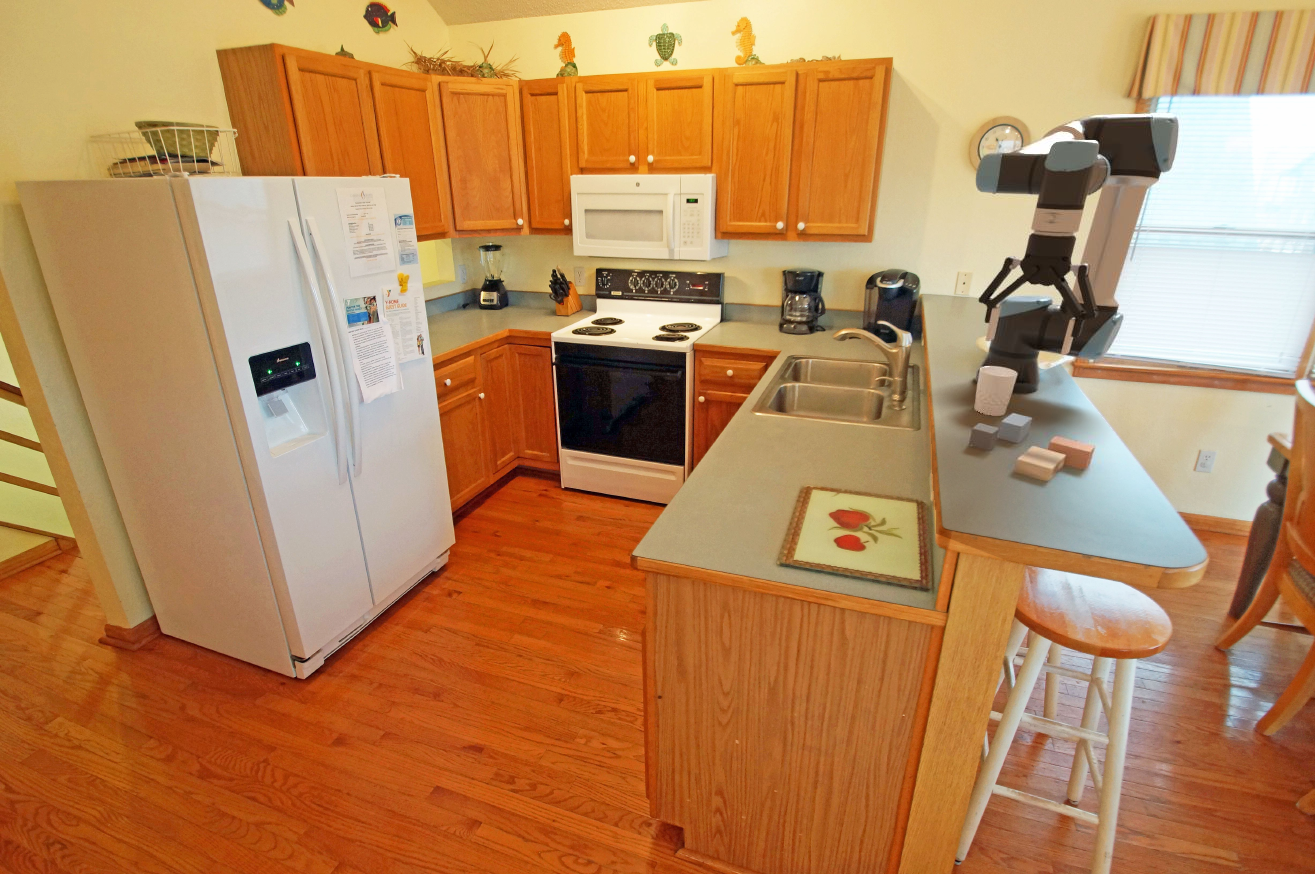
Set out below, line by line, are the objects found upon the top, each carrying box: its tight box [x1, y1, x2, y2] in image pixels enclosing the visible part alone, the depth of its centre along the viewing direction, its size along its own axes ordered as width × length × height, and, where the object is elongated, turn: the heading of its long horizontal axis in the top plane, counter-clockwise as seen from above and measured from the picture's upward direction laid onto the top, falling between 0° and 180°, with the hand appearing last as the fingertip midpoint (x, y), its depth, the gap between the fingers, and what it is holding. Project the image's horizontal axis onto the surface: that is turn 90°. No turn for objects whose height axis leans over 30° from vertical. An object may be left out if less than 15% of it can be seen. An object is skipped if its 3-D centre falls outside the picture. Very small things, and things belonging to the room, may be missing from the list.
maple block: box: [1013, 445, 1066, 483], centre depth 124 cm, size 9×6×3 cm, turn 135°
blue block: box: [997, 412, 1033, 444], centre depth 139 cm, size 7×4×4 cm, turn 136°
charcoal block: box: [968, 422, 1000, 452], centre depth 134 cm, size 4×4×4 cm
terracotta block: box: [1047, 435, 1096, 471], centre depth 128 cm, size 7×4×4 cm, turn 46°
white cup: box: [973, 366, 1017, 417], centre depth 152 cm, size 8×8×10 cm
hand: (1026, 346), depth 126 cm, fingers open, 13 cm apart
